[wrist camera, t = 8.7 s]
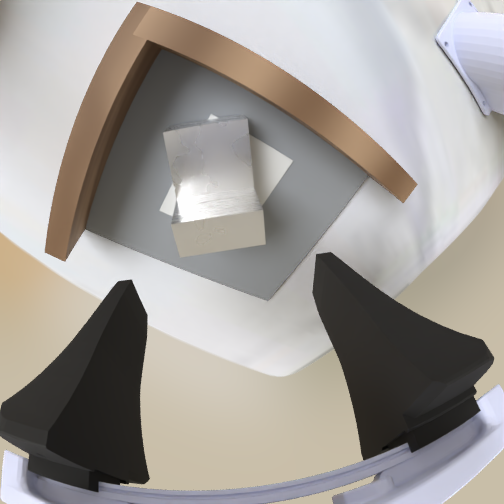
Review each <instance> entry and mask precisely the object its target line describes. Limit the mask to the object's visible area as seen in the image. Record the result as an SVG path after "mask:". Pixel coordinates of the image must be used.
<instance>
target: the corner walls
mask: <svg viewBox="0 0 504 504" xmlns="http://www.w3.org/2000/svg"><path fill="white" fill-rule="evenodd" d="M161 49H163V50H166V51H168V52H170V53H173V54H175V55H177V56H180V57H182V58H184V59H186V60H189V61H191V62H193V63H195V64H197V65H199V66H201V67H203V68H205V69H207V70H210V71H212V72H214V73H215V74H217V75H219V76H221V77H223V78H225V79H227V80H229V81H231V82H233V83H234V84H236V85H238V86H240V87H242V88H244V89H245V90H247V91H249V92H251V93H252V94H254V95H256V96H257V97H259V98H261V99H262V100H264V101H266V102H267V103H269V104H271V105H272V106H274V107H275V108H277V109H279V110H280V111H282V112H283V113H285V114H286V115H288V116H290V117H291V118H293V119H294V120H296V121H297V122H299V123H300V124H301V125H303V126H304V127H306V128H307V129H309V130H310V131H312V132H313V133H314V134H316V135H317V136H319V137H320V138H321V139H323V140H324V141H326V142H327V143H328V144H330V145H331V146H332V147H334V148H335V149H336V150H338V151H339V152H340V153H341V154H343V155H344V156H345V157H347V158H348V159H349V160H350V161H352V162H353V163H354V164H355V165H357V166H358V167H359V168H360V169H361V170H363V171H364V172H365V173H366V174H367V175H368V176H370V177H371V178H372V179H373V180H375V181H376V182H377V183H379V184H380V185H381V186H383V187H384V188H385V189H386V190H388V191H389V192H390V193H391V194H393V195H394V196H395V197H396V198H398V199H399V200H400V201H401V202H402V203H404V202H405V200H406V199H407V198H408V196H409V195H410V194H411V192H412V191H413V190H414V188H415V187H416V186H417V183H416V182H415V181H414V180H413V179H412V178H411V177H410V176H409V174H408V173H407V172H406V171H405V170H404V169H403V168H402V167H401V166H400V165H399V164H398V163H397V162H396V161H395V160H394V159H393V158H392V157H391V156H390V155H389V154H388V153H387V152H386V151H385V150H384V149H383V148H382V147H381V146H380V145H378V144H377V143H376V142H375V141H374V140H373V139H372V138H371V137H370V136H369V135H368V134H366V133H365V132H364V131H363V130H362V129H361V128H360V127H359V126H357V125H356V124H355V123H354V122H353V121H351V120H350V119H349V118H348V117H347V116H345V115H344V114H343V113H342V112H341V111H339V110H338V109H337V108H336V107H334V106H333V105H332V104H330V103H329V102H328V101H327V100H325V99H324V98H323V97H321V96H320V95H319V94H317V93H316V92H314V91H313V90H312V89H310V88H309V87H308V86H306V85H305V84H303V83H302V82H300V81H299V80H297V79H296V78H294V77H293V76H291V75H290V74H288V73H287V72H285V71H284V70H282V69H281V68H279V67H278V66H276V65H274V64H273V63H271V62H270V61H268V60H266V59H265V58H263V57H261V56H259V55H258V54H256V53H254V52H252V51H251V50H249V49H247V48H245V47H243V46H242V45H240V44H238V43H236V42H234V41H232V40H230V39H228V38H226V37H224V36H222V35H220V34H218V33H216V32H214V31H212V30H210V29H208V28H205V27H203V26H201V25H199V24H196V23H194V22H192V21H189V20H187V19H184V18H182V17H179V16H177V15H174V14H172V13H169V12H166V11H164V10H161V9H158V8H155V7H152V6H149V5H146V4H143V3H139V2H136V4H135V5H134V7H133V8H132V10H131V11H130V13H129V14H128V16H127V17H126V19H125V20H124V22H123V24H122V25H121V27H120V28H119V30H118V32H117V33H116V35H115V37H114V38H113V40H112V42H111V44H110V45H109V47H108V49H107V51H106V53H105V55H104V57H103V58H102V60H101V62H100V64H99V66H98V68H97V70H96V72H95V75H94V77H93V79H92V81H91V83H90V85H89V88H88V90H87V92H86V95H85V97H84V99H83V102H82V104H81V107H80V109H79V112H78V115H77V117H76V120H75V123H74V125H73V128H72V131H71V134H70V137H69V140H68V143H67V147H66V150H65V153H64V157H63V160H62V164H61V167H60V171H59V175H58V179H57V183H56V188H55V192H54V197H53V202H52V207H51V212H50V218H49V224H48V231H47V238H46V246H45V253H47V254H50V255H52V256H54V257H56V258H58V259H60V260H62V261H66V259H67V258H68V256H69V254H70V252H71V251H72V249H73V248H74V246H75V244H76V243H77V241H78V239H79V238H80V236H81V235H82V233H83V232H84V230H85V228H86V224H87V220H88V217H89V213H90V210H91V206H92V203H93V200H94V197H95V193H96V190H97V187H98V184H99V181H100V178H101V175H102V173H103V170H104V167H105V164H106V162H107V159H108V156H109V154H110V151H111V149H112V146H113V144H114V141H115V139H116V137H117V134H118V132H119V130H120V127H121V125H122V123H123V121H124V118H125V116H126V114H127V112H128V110H129V108H130V106H131V104H132V102H133V100H134V98H135V96H136V94H137V92H138V90H139V88H140V86H141V84H142V82H143V80H144V79H145V77H146V75H147V73H148V71H149V70H150V68H151V66H152V64H153V63H154V61H155V59H156V58H157V56H158V54H159V53H160V51H161Z"/></svg>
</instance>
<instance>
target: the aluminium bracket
mask: <svg viewBox="0 0 504 504" xmlns="http://www.w3.org/2000/svg"><path fill="white" fill-rule="evenodd" d="M163 136H164V141H165V146H166V151H167V156H168V161H169V166H170V171H171V176H172V180H173V185H174V189H175V194H176V198H177V200H176V204H175V208H174V213H173V217H172V221H171V227H172V231H173V234H174V238H175V242H176V245H177V249H178V252H179V256H180V258H181V257H187V256H194V255H200V254H207V253H213V252H220V251H226V250H233V249H239V248H246V247H252V246H259V245H265V244H266V241H265V227H264V214H263V208H262V206H261V203H260V201H259V198H258V196H257V193H256V191H255V188H254V181H253V170H252V160H251V149H250V139H249V128H248V119H247V118H246V117H245V116H244V115H236V116H228V117H221V118H214V119H207V120H201V121H195V122H189V123H184V124H179V125H174V126H169V127H167V128H166V130H165V131H164V132H163Z"/></svg>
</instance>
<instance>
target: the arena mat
mask: <svg viewBox="0 0 504 504" xmlns="http://www.w3.org/2000/svg"><path fill="white" fill-rule="evenodd" d="M236 115H244V116H245V117H246V118H247V119H248V128H249V139H250V149H251V160H252V170H253V181H254V188H255V191H256V193H257V196H258V198H259V201H260V203H261V206H262V208H263V214H264V227H265V241H266V244H265V245H259V246H252V247H246V248H239V249H233V250H226V251H220V252H213V253H207V254H200V255H194V256H187V257H181V258H180V256H179V252H178V249H177V245H176V242H175V238H174V234H173V231H172V227H171V221H172V217H173V213H174V208H175V204H176V200H177V198H176V194H175V189H174V185H173V180H172V176H171V171H170V166H169V161H168V156H167V151H166V146H165V141H164V136H163V132H164V131H165V130H166V128H167V127H169V126H174V125H179V124H184V123H189V122H195V121H201V120H207V119H214V118H221V117H228V116H236ZM367 177H368V175H367V174H366V173H365V172H364V171H363V170H361V169H360V168H359V167H358V166H357V165H355V164H354V163H353V162H352V161H350V160H349V159H348V158H347V157H345V156H344V155H343V154H341V153H340V152H339V151H338V150H336V149H335V148H334V147H332V146H331V145H330V144H328V143H327V142H326V141H324V140H323V139H321V138H320V137H319V136H317V135H316V134H314V133H313V132H312V131H310V130H309V129H307V128H306V127H304V126H303V125H301V124H300V123H299V122H297V121H296V120H294V119H293V118H291V117H290V116H288V115H286V114H285V113H283V112H282V111H280V110H279V109H277V108H275V107H274V106H272V105H271V104H269V103H267V102H266V101H264V100H262V99H261V98H259V97H257V96H256V95H254V94H252V93H251V92H249V91H247V90H245V89H244V88H242V87H240V86H238V85H236V84H234V83H233V82H231V81H229V80H227V79H225V78H223V77H221V76H219V75H217V74H215V73H214V72H212V71H210V70H207V69H205V68H203V67H201V66H199V65H197V64H195V63H193V62H191V61H189V60H186V59H184V58H182V57H180V56H177V55H175V54H173V53H170V52H168V51H166V50H163V49H161V51H160V53H159V54H158V56H157V58H156V59H155V61H154V63H153V64H152V66H151V68H150V70H149V71H148V73H147V75H146V77H145V79H144V80H143V82H142V84H141V86H140V88H139V90H138V92H137V94H136V96H135V98H134V100H133V102H132V104H131V106H130V108H129V110H128V112H127V114H126V116H125V118H124V121H123V123H122V125H121V127H120V130H119V132H118V134H117V137H116V139H115V141H114V144H113V146H112V149H111V151H110V154H109V156H108V159H107V162H106V164H105V167H104V170H103V173H102V175H101V178H100V181H99V184H98V187H97V190H96V193H95V197H94V200H93V203H92V206H91V210H90V213H89V217H88V220H87V224H86V228H85V229H86V230H89V231H91V232H93V233H95V234H98V235H100V236H102V237H105V238H107V239H109V240H112V241H114V242H116V243H119V244H121V245H123V246H126V247H128V248H131V249H133V250H135V251H138V252H140V253H143V254H145V255H148V256H150V257H153V258H155V259H158V260H160V261H163V262H165V263H168V264H170V265H173V266H175V267H178V268H180V269H183V270H185V271H188V272H191V273H193V274H196V275H198V276H201V277H204V278H206V279H209V280H212V281H214V282H217V283H220V284H222V285H225V286H228V287H230V288H233V289H236V290H239V291H241V292H244V293H247V294H250V295H253V296H255V297H258V298H261V299H264V300H267V301H268V300H269V299H270V298H271V297H272V296H273V294H274V293H275V292H276V291H277V290H278V289H279V287H280V286H281V285H282V284H283V283H284V281H285V280H286V279H287V278H288V277H289V275H290V274H291V273H292V272H293V271H294V269H295V268H296V267H297V266H298V265H299V263H300V262H301V261H302V260H303V258H304V257H305V256H306V255H307V254H308V252H309V251H310V250H311V249H312V247H313V246H314V245H315V244H316V242H317V241H318V240H319V239H320V237H321V236H322V235H323V234H324V232H325V231H326V230H327V229H328V227H329V226H330V225H331V224H332V222H333V221H334V220H335V218H336V217H337V216H338V215H339V213H340V212H341V211H342V210H343V208H344V207H345V206H346V204H347V203H348V202H349V200H350V199H351V198H352V197H353V195H354V194H355V193H356V191H357V190H358V189H359V187H360V186H361V185H362V183H363V182H364V181H365V179H366V178H367Z"/></svg>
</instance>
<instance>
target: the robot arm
mask: <svg viewBox="0 0 504 504" xmlns="http://www.w3.org/2000/svg"><path fill="white" fill-rule="evenodd" d="M436 40H437V42H438V44H439V45H440V46H441V48H442V49H443V50H444V52H445V53H446V54H447V56H448V57H449V59H450V60H451V61H452V63H453V64H454V66H455V67H456V69H457V70H458V71H459V73H460V74H461V76H462V78H463V79H464V81H465V82H466V84H467V85H468V87H469V89H470V90H471V92H472V94H473V95H474V97H475V99H476V101H477V102H478V104H479V106H480V108H481V110H482V112H483V113H484V115H487V116H488V115H489V114H490V112H491V111H495V112H497V113H500V114H502V115H504V14H500V13H486V12H478V11H477V9H476V8H475V6H474V5H473V4H472V2H471V1H470V0H459V1H458V3H457V4H456V6H455V7H454V9H453V11H452V12H451V14H450V15H449V17H448V18H447V20H446V21H445V23H444V25H443V26H442V28H441V29H440V31H439V32H438V34H437V35H436ZM444 43H445V44H444ZM313 296H314V299H315V303H316V306H317V309H318V312H319V315H320V317H321V320H322V322H323V324H324V326H325V329H326V331H327V333H328V335H329V338H330V340H331V342H332V344H333V347H334V349H335V351H336V353H337V356H338V358H339V361H340V363H341V365H342V369H343V372H344V375H345V379H346V382H347V386H348V389H349V393H350V397H351V401H352V405H353V409H354V414H355V418H356V422H357V428H358V434H359V440H360V446H361V454H362V457H363V460H364V461H361V462H359V463H356V464H353V465H350V466H346V467H343V468H340V469H337V470H333V471H330V472H326V473H323V474H319V475H315V476H311V477H307V478H302V479H298V480H293V481H288V482H282V483H277V484H271V485H264V486H257V487H248V488H239V489H227V490H207V491H178V490H177V491H176V490H158V489H146V488H137V487H128V486H121V485H120V483H123V484H129V483H137V484H145V483H146V482H148V480H149V479H150V478H149V474H148V470H147V465H146V460H145V454H144V447H143V439H142V430H141V417H140V385H141V377H142V369H143V362H144V354H145V348H146V340H147V316H148V315H147V313H146V311H145V309H144V307H143V304H142V302H141V300H140V298H139V296H138V293H137V291H136V289H135V286H134V284H133V282H132V280H125V281H118V282H117V283H116V284H115V286H114V287H113V288H112V289H111V291H110V292H109V293H108V295H107V296H106V297H105V299H104V300H103V301H102V303H101V304H100V305H99V307H98V308H97V309H96V311H95V312H94V313H93V315H92V316H91V317H90V319H89V320H88V321H87V323H86V324H85V325H84V326H83V328H82V329H81V330H80V331H79V333H78V334H77V335H76V336H75V338H74V339H73V340H72V341H71V342H70V344H69V345H68V346H67V347H66V348H65V349H64V350H63V351H62V353H61V354H60V355H59V356H58V357H57V358H56V359H55V360H54V361H53V362H52V363H51V364H50V365H49V366H48V367H47V368H46V369H45V370H44V371H43V372H42V373H41V374H39V375H38V376H37V377H36V378H35V379H34V380H33V381H31V382H30V383H29V384H28V385H27V386H25V387H24V388H23V389H22V390H20V391H19V392H17V393H16V394H15V395H13V396H12V397H10V398H9V399H7V400H6V401H4V402H3V403H2V405H1V409H0V436H1V437H2V438H3V439H5V440H7V441H8V442H10V443H12V444H13V445H15V446H16V447H18V448H20V449H21V450H23V451H25V452H27V453H29V459H27V458H24V457H22V456H20V455H17V454H15V453H13V452H10V451H8V450H5V452H4V459H3V468H2V478H1V479H2V480H1V500H2V501H4V502H5V503H7V504H266V503H272V502H279V501H284V500H289V499H295V498H299V497H304V496H308V495H312V494H316V493H320V492H324V491H327V490H331V489H335V488H338V487H341V486H345V485H348V484H351V483H354V482H357V481H359V480H362V479H365V478H367V477H370V476H372V475H375V474H377V475H376V476H375V477H374V480H373V482H372V483H370V484H367V485H364V486H361V487H358V488H355V489H353V490H349V491H347V492H343V493H340V494H337V495H334V496H333V497H332V500H333V504H442V503H444V502H445V501H446V500H448V499H449V498H450V497H451V496H453V495H454V494H455V493H456V492H458V491H459V490H460V489H461V488H462V487H464V486H465V485H466V484H467V483H468V482H469V481H470V480H472V479H473V478H474V477H475V476H476V475H477V474H478V473H479V472H480V471H481V470H482V469H483V468H484V467H485V466H486V465H487V464H488V463H490V462H491V461H492V460H493V459H494V458H495V457H496V456H497V455H498V454H499V453H500V452H501V451H502V449H504V392H503V390H502V388H501V386H500V385H499V384H498V385H496V386H495V387H494V388H492V389H491V390H490V391H488V392H487V393H486V394H484V395H483V396H482V397H480V398H479V399H478V400H475V398H474V395H475V394H476V392H477V391H476V389H475V387H474V384H475V383H476V382H477V381H478V380H479V379H480V378H481V377H482V376H483V375H484V374H485V373H486V372H487V370H488V369H489V368H490V367H491V365H492V364H493V361H494V357H493V355H492V353H491V352H490V350H489V349H488V347H487V346H486V344H485V342H484V341H483V340H482V339H478V338H475V337H472V336H469V335H465V334H462V333H459V332H456V331H454V330H451V329H449V328H446V327H444V326H442V325H440V324H437V323H435V322H433V321H431V320H429V319H427V318H425V317H423V316H420V315H419V314H417V313H415V312H413V311H412V310H410V309H408V308H407V307H405V306H403V305H402V304H400V303H398V302H396V301H395V300H394V299H392V298H390V297H389V296H388V295H386V294H385V293H383V292H382V291H380V290H379V289H378V288H376V287H375V286H373V285H372V284H371V283H369V282H368V281H367V280H366V279H364V278H363V277H362V276H360V275H359V274H358V273H357V272H355V271H354V270H353V269H352V268H350V267H349V266H348V265H347V264H345V263H344V262H343V261H342V260H340V259H339V258H338V257H337V256H335V255H334V254H333V253H331V252H328V253H322V254H316V262H315V273H314V283H313Z"/></svg>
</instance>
